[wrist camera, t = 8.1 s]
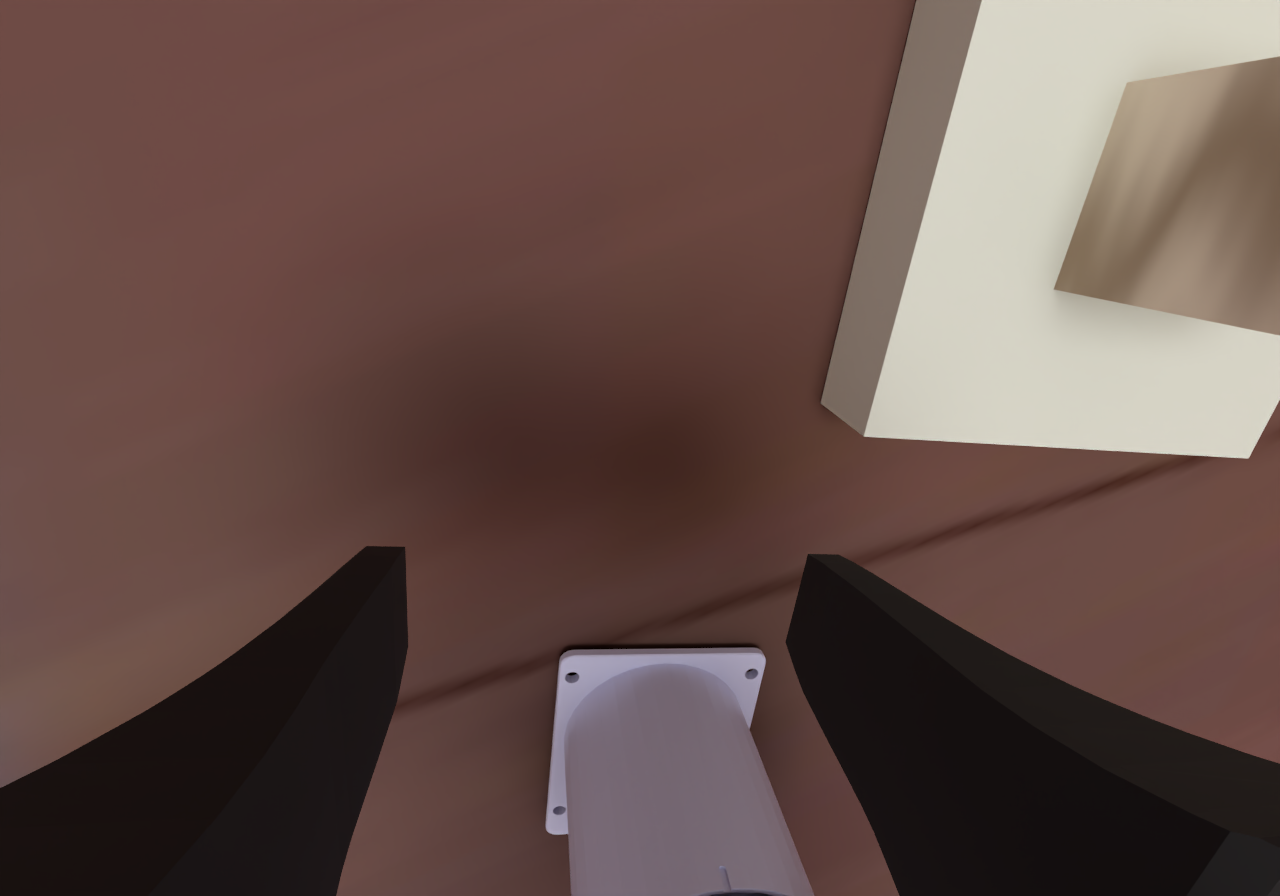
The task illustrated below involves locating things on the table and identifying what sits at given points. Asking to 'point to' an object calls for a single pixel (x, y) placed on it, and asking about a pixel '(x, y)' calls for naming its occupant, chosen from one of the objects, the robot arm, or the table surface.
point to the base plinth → (1034, 241)
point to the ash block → (1188, 200)
